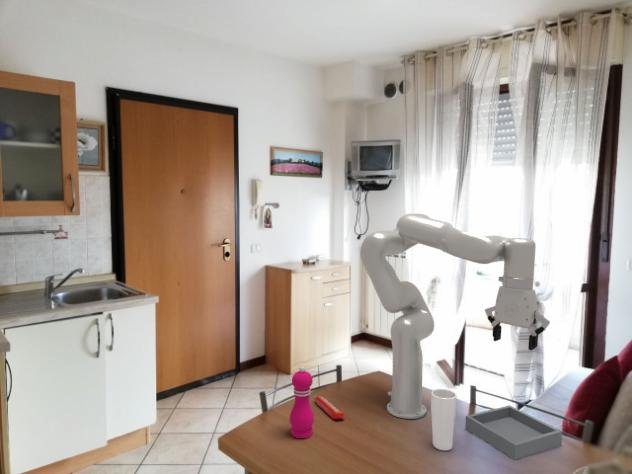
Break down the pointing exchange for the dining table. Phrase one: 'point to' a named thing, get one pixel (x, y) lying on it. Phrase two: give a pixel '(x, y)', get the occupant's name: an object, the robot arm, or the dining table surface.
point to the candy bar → (329, 407)
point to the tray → (513, 431)
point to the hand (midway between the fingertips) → (514, 344)
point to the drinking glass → (443, 418)
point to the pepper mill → (302, 405)
